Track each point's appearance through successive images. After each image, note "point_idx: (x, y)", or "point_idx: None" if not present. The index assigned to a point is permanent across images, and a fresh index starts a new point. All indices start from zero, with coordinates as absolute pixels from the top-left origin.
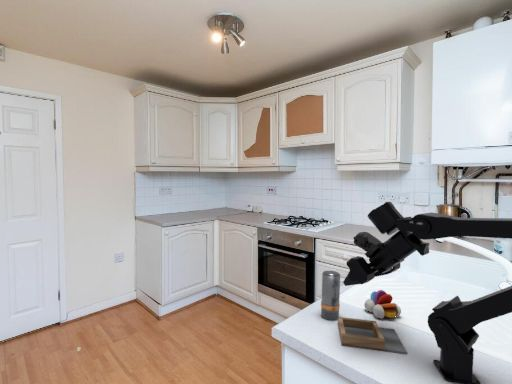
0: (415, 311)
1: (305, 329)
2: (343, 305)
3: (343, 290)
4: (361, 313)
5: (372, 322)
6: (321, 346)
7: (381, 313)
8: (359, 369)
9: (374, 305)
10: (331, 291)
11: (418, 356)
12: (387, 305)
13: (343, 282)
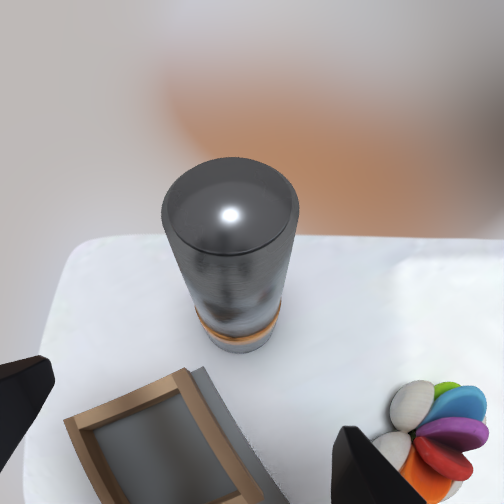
0: (498, 484)
1: (100, 297)
2: (372, 311)
3: (467, 251)
4: (363, 395)
5: (241, 492)
6: None
7: None
8: (25, 475)
9: (409, 429)
10: (187, 285)
11: None
12: None
13: (38, 359)
